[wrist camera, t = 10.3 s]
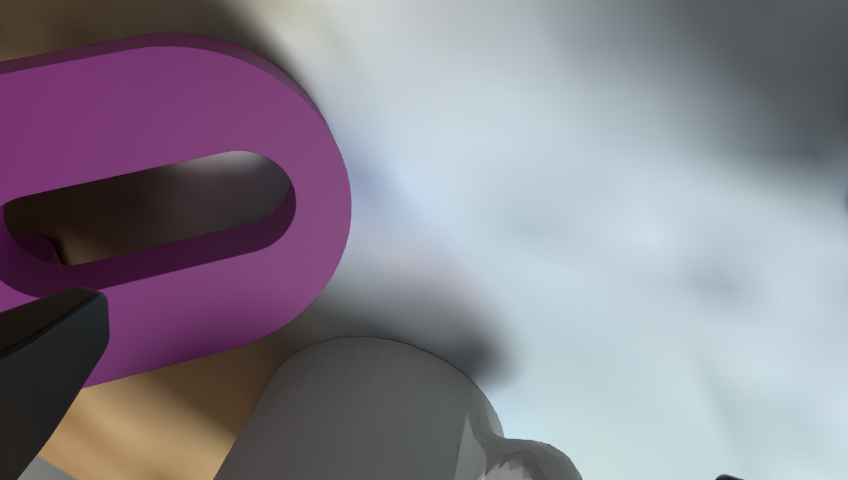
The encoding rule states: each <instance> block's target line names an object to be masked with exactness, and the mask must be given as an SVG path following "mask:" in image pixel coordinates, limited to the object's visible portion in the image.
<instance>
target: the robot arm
mask: <svg viewBox="0 0 848 480" xmlns="http://www.w3.org/2000/svg"><path fill="white" fill-rule="evenodd" d="M109 338H110V328H109V309H108V299H107V297H106V295H105V294H104V293H102V292H100V291H97V290H93V289H90V288H87V287H83V286H75V287H71V288H68V289H65V290H62V291H60V292H57V293H54V294H51V295H48V296H45V297H42V298H40V299H37V300H34V301H31V302H28V303H25V304H23V305H20V306H17V307H14V308H11V309H8V310H5V311H3V312H0V480H17V479H18V478H19V476H20V475H21V474H22V473H23V471H24V470H25V469H26V468H27V466H28V465H29V464H30V462H31V461H32V460H33V459H34V457H35V456H36V455H37V454H38V453H39V451H40V450H41V449H42V447H43V446H44V445H45V443H46V442H47V441H48V439H49V438H50V437H51V435H52V434H53V432H54V431H55V429H56V428H57V426H58V425H59V423H60V422H61V420H62V418H63V417H64V415H65V414H66V412H67V411H68V409H69V407H70V406H71V404H72V403H73V401H74V400H75V398H76V396H77V395H78V393H79V392H80V390H81V389H82V387H83V385H84V384H85V382H86V381H87V379H88V378H89V376H90V374H91V373H92V371H93V370H94V368H95V367H96V365H97V363H98V362H99V360H100V359H101V357H102V355H103V354H104V352H105V350H106V348H107V346H108V343H109ZM715 480H743V479H740V478H737V477H733V476H730V475H720V476H718V477H717V478H716V479H715Z"/></svg>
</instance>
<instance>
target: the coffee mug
mask: <svg viewBox="0 0 848 480" xmlns="http://www.w3.org/2000/svg"><path fill="white" fill-rule="evenodd" d="M213 480H582V477H581V475H580V473H579V472H578V470H577V469H576V467H575V466H574V464H573V463H572V461H571V460H570V458H569V457H568V456H566V455H565V454H564V453H563V452H561V451H560V450H558V449H556V448H555V447H553V446H551V445H550V444H546V443H542V442H537V441H533V440H521V439H506V438H504V435H503V431H502V427H501V424H500V421H499V419H498V416H497V414H496V412H495V411H494V409H493V407H492V405H491V404H490V402H489V401H488V399H487V398H486V396H485V395H484V394H483V393H482V392H481V391H480V390H479V389H478V388H477V387H476V385H475V384H474V383H473V382H472V381H471V380H470V379H469V378H468V377H467V376H465V375H464V374H463V373H462V372H461V371H459V370H458V369H456V368H455V367H453V366H452V365H451V364H449V363H448V362H446V361H444V360H442V359H440V358H438V357H436V356H434V355H432V354H431V353H429V352H426V351H424V350H421V349H418V348H416V347H413V346H411V345H408V344H405V343H401V342H397V341H392V340H387V339H381V338H375V337H341V338H335V339H330V340H326V341H322V342H319V343H316V344H313V345H311V346H308V347H306V348H304V349H301V350H300V351H298V352H297V353H295V354H294V355H293V356H291V357H290V358H288V359H287V360H286V361H285V362H284V363H283V364H282V365H281V366H280V367H279V368H278V369H277V370H276V372H275V373H274V375H273V376H272V378H271V380H270V382H269V383H268V385H267V387H266V389H265V390H264V392H263V394H262V395H261V397H260V399H259V401H258V402H257V404H256V406H255V408H254V409H253V411H252V413H251V415H250V416H249V418H248V420H247V422H246V423H245V425H244V427H243V429H242V430H241V432H240V434H239V436H238V437H237V439H236V441H235V443H234V444H233V446H232V448H231V450H230V451H229V453H228V455H227V457H226V458H225V460H224V462H223V463H222V465H221V467H220V469H219V470H218V472H217V474H216V476H215V477H214V479H213Z"/></svg>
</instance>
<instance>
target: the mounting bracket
mask: <svg viewBox="0 0 848 480" xmlns="http://www.w3.org/2000/svg"><path fill="white" fill-rule="evenodd" d="M228 151H249V152H254V153H257V154H260V155H263V156H265V157H267V158H269V159H271V160H272V161H274V162H275V163H276V164H278V165H279V166H280V167H281V168H282V169H283V170H284V171H285V172H286V174H287V175H288V177H289V178H290V187H289V191H288V194H287V196H286V198H285V200H284V202H283V203H282V205H281V206H280V207H279V208H278V209H277V210H276V211H275V212H274V213H273V214H272V215H270V216H269V217H267V218H265V219H263V220H261V221H259V222H256V223H252V224H248V225H244V226H240V227H236V228H231V229H227V230H223V231H219V232H215V233H210V234H206V235H202V236H198V237H193V238H189V239H185V240H181V241H177V242H172V243H168V244H164V245H160V246H156V247H151V248H147V249H143V250H139V251H135V252H130V253H126V254H122V255H118V256H114V257H109V258H105V259H101V260H97V261H93V262H88V263H84V264H79V265H62V264H61V262H60V260H59V258H58V256H57V253H56V251H55V249H54V247H53V245H52V243H51V242H50V241H49V240H47V239H45V238H43V237H40V236H37V235H32V236H10V234H9V232H8V230H7V228H6V225H5V221H4V215H3V209H4V204H5V203H7V202H9V201H11V200H13V199H16V198H19V197H23V196H27V195H31V194H36V193H40V192H45V191H50V190H54V189H59V188H63V187H68V186H72V185H77V184H81V183H86V182H91V181H95V180H100V179H104V178H109V177H113V176H118V175H122V174H127V173H132V172H136V171H141V170H145V169H150V168H154V167H159V166H163V165H168V164H173V163H177V162H182V161H186V160H191V159H195V158H200V157H204V156H209V155H214V154H218V153H223V152H228ZM350 222H351V192H350V184H349V180H348V175H347V170H346V167H345V164H344V161H343V159H342V156H341V153H340V151H339V149H338V147H337V145H336V142H335V140H334V138H333V136H332V134H331V132H330V130H329V127H328V125H327V123H326V121H325V119H324V118H323V116H322V114H321V113H320V111H319V110H318V108H317V106H316V105H315V104H314V102H313V101H312V100H311V98H310V97H309V96H308V94H307V93H306V92H305V91H304V90H303V89H302V88H301V87H300V86H299V85H298V84H297V83H296V82H295V80H293V79H292V78H291V77H290V76H289V75H287V74H286V73H285V72H284V71H283V70H281V69H280V68H279V67H277V66H276V65H274V64H273V63H271V62H270V61H268V60H267V59H265V58H263V57H261V56H260V55H258V54H256V53H254V52H252V51H250V50H248V49H245V48H243V47H241V46H238V45H236V44H233V43H230V42H227V41H223V40H220V39H216V38H212V37H207V36H201V35H196V34H184V33H157V34H149V35H142V36H136V37H130V38H125V39H120V40H114V41H109V42H104V43H98V44H93V45H88V46H82V47H77V48H72V49H67V50H61V51H56V52H51V53H45V54H40V55H35V56H29V57H24V58H19V59H13V60H8V61H3V62H0V312H3V311H5V310H8V309H11V308H14V307H17V306H20V305H23V304H25V303H28V302H31V301H34V300H37V299H40V298H42V297H45V296H48V295H51V294H54V293H57V292H60V291H62V290H65V289H68V288H71V287H75V286H83V287H87V288H90V289H93V290H97V291H100V292H102V293H104V294H105V295H106V297H107V299H108V309H109V328H110V338H109V343H108V346H107V348H106V350H105V352H104V354H103V355H102V357H101V359H100V360H99V362H98V363H97V365H96V367H95V368H94V370H93V371H92V373H91V374H90V376H89V378H88V379H87V381H86V382H85V384H84V385H83V387H82V388H86V387H89V386H93V385H97V384H101V383H104V382H108V381H112V380H116V379H119V378H123V377H127V376H131V375H135V374H138V373H142V372H146V371H150V370H153V369H157V368H161V367H165V366H168V365H172V364H176V363H180V362H183V361H187V360H191V359H195V358H198V357H202V356H206V355H210V354H213V353H217V352H221V351H225V350H228V349H232V348H235V347H239V346H242V345H245V344H248V343H250V342H253V341H255V340H258V339H260V338H263V337H265V336H266V335H268V334H270V333H272V332H274V331H276V330H278V329H279V328H281V327H282V326H284V325H285V324H287V323H288V322H290V321H291V320H293V319H294V318H295V317H296V316H298V315H299V314H300V313H301V312H303V311H304V310H305V309H306V308H307V307H308V306H309V305H310V304H311V303H312V302H313V301H314V300H315V299H316V297H317V296H318V295H319V294H320V293H321V291H322V290H323V289H324V288H325V286H326V285H327V283H328V282H329V280H330V279H331V277H332V276H333V274H334V272H335V270H336V268H337V266H338V264H339V262H340V260H341V257H342V254H343V252H344V249H345V246H346V242H347V238H348V235H349V229H350Z"/></svg>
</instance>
